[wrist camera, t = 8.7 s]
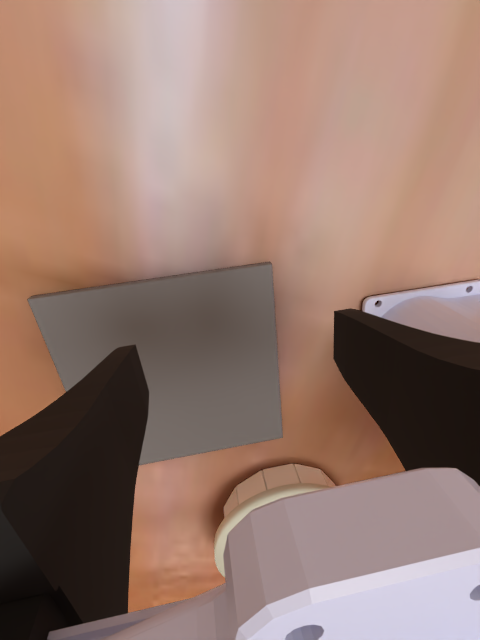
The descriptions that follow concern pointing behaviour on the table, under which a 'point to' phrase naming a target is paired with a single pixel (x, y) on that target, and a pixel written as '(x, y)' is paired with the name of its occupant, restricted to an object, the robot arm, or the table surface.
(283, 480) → the bowl
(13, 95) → the table surface
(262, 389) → the mat
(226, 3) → the table surface
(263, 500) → the lid
